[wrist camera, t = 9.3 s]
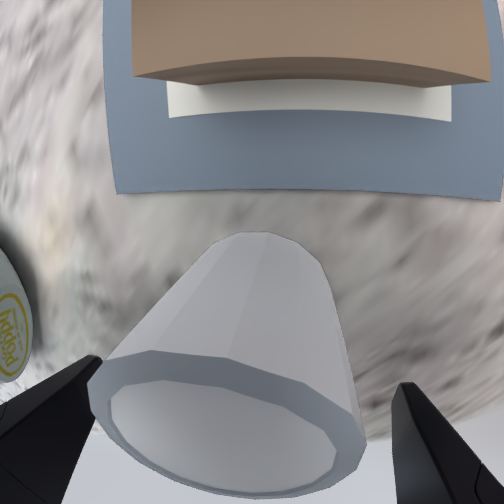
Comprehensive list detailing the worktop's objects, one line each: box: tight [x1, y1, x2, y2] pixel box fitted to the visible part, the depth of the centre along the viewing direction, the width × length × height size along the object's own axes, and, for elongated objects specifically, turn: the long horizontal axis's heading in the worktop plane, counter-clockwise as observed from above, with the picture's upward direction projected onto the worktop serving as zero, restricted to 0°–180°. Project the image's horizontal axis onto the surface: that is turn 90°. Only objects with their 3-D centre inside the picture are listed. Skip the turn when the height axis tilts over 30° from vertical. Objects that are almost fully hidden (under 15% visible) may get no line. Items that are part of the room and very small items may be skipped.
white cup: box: [87, 232, 367, 499], centre depth 9 cm, size 7×7×7 cm
